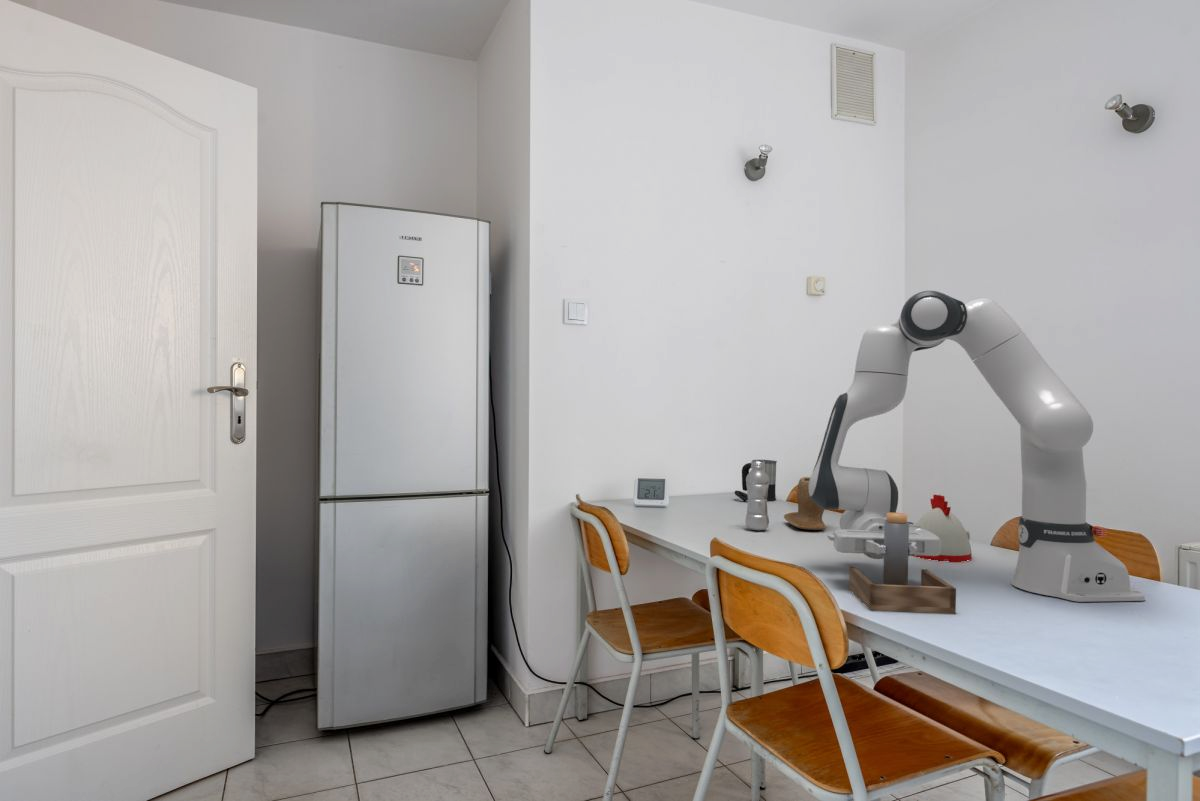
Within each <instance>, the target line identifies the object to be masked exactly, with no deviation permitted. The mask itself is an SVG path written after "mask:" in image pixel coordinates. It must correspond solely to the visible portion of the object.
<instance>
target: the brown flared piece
mask: <svg viewBox="0 0 1200 801" xmlns="http://www.w3.org/2000/svg"><path fill="white" fill-rule="evenodd" d="M810 477H811V476H802V477H801V478H800V479H799V481H798V484H797V491H796V498H797V512H796V511H795V512H789V513H786V514H784V515H783V518H784V519H785V521H787V522H788V523H789V524H790V525H792V526H793V527H795V528H798V529H802V530H809V531H810V530H811V531H813V530H814V531H817V530H818V531H819V530H824V529H826V525H825V523H824V521H823V515H824V512H825V509H821V508H820V507H818V506H817V505H816V504H815V503H814V502H813V501H812V500H811V498H810V497H809V489H808V487H809V481H810Z"/></svg>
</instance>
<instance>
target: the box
mask: <svg viewBox="0 0 1200 801" xmlns="http://www.w3.org/2000/svg"><path fill="white" fill-rule="evenodd" d="M848 568H849V569H848V575H849V576H848V590H849V589H850V590H851V591H852V592H853V593H854V594H855V595H856V596H857V597H858V598H859V599H860V600H861V601H862V602H863V603H864V604H865V605H866V606H867V607H868V608H869V609H870V610H869V609H868V608H867V607H866V606H865V605H864V604H863V603H862V602H861V601H860V600H859V599H858V598H857V597H856V596H855V595H854V594H853V593H852V594H853V595H854V596H855V597H856V598H857V599H858V600H859V601H860V602H861V603H862V604H863V605H864V606H865V607H866V608H867V609H868V610H869V611H878V610H884V612H885V610H886V612H908V613H931V614H953V615H955V614H956V613H957V612H956V611H957V610H956V607H957V601H956V600H957V588H956V587H954V586H953V585H951V584H950V583H948V582H946V581H945V580H944V579H942V578H940V577H939V576H937V575H936V574H935V573H933V572H931V571H929V570H928V569H921V571H920V573H921V574H920V575H921V576H920V585H909V584H908V585H885V584H883V583H881V584H879V583H878V584H877V583H876V584H875V583H874V582H872V581H871V580H870V579H869V578H868V577H866V575H864V574H863V573H862V572H861V571H860V570H859V569H857V568H856V567H855V566H849V567H848ZM850 590H849V591H850ZM851 591H850V592H851Z"/></svg>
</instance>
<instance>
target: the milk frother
mask: <svg viewBox="0 0 1200 801" xmlns="http://www.w3.org/2000/svg"><path fill="white" fill-rule="evenodd" d="M752 461H764V462H765V465H764V466H765V468H764V471H765V472H766V474H767V476H768V478H769V486H768V492H767V502H771V501H773V502H774V501H776V500H777V498H776V486H777V484H776V483H777V482H776V481H777V480H776V479H777V462H778V461H777V460H773V459H772V460H769V459H752V460H751V462H752ZM751 462H748V463H744V465H743V466H742V467H741V486H742V491H741V490H735V491H734V494H735V496H736V497H738V498H740V499H741V501H742V500H743V502H746V501H747V502H748V494H747V493H745V492H747V485H746V477H747V475H748V474H749V472H750V469H752V467H751ZM743 491H744V492H743Z"/></svg>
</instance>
